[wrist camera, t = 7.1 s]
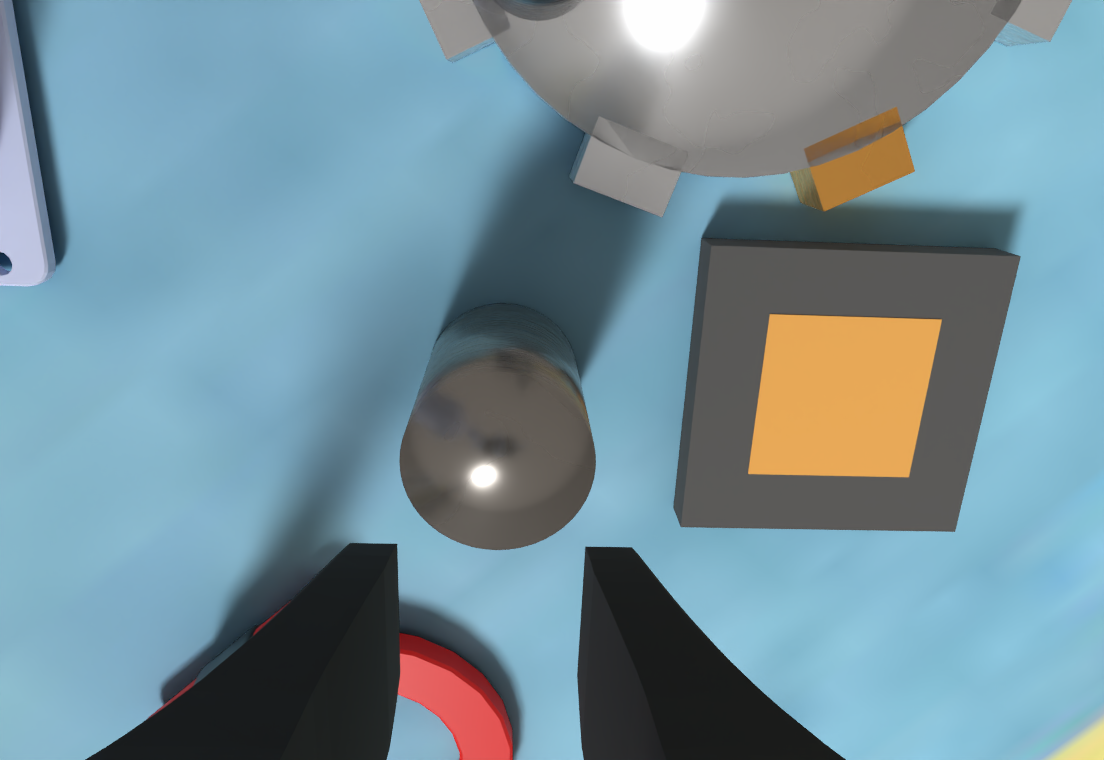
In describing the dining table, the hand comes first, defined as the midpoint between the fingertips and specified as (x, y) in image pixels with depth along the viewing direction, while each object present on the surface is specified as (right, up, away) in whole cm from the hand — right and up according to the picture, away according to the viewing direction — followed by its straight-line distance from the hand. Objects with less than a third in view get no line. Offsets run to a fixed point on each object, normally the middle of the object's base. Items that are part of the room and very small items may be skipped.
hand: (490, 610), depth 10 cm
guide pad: (+8, +3, +9) cm, 12 cm away
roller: (0, +3, +9) cm, 9 cm away
